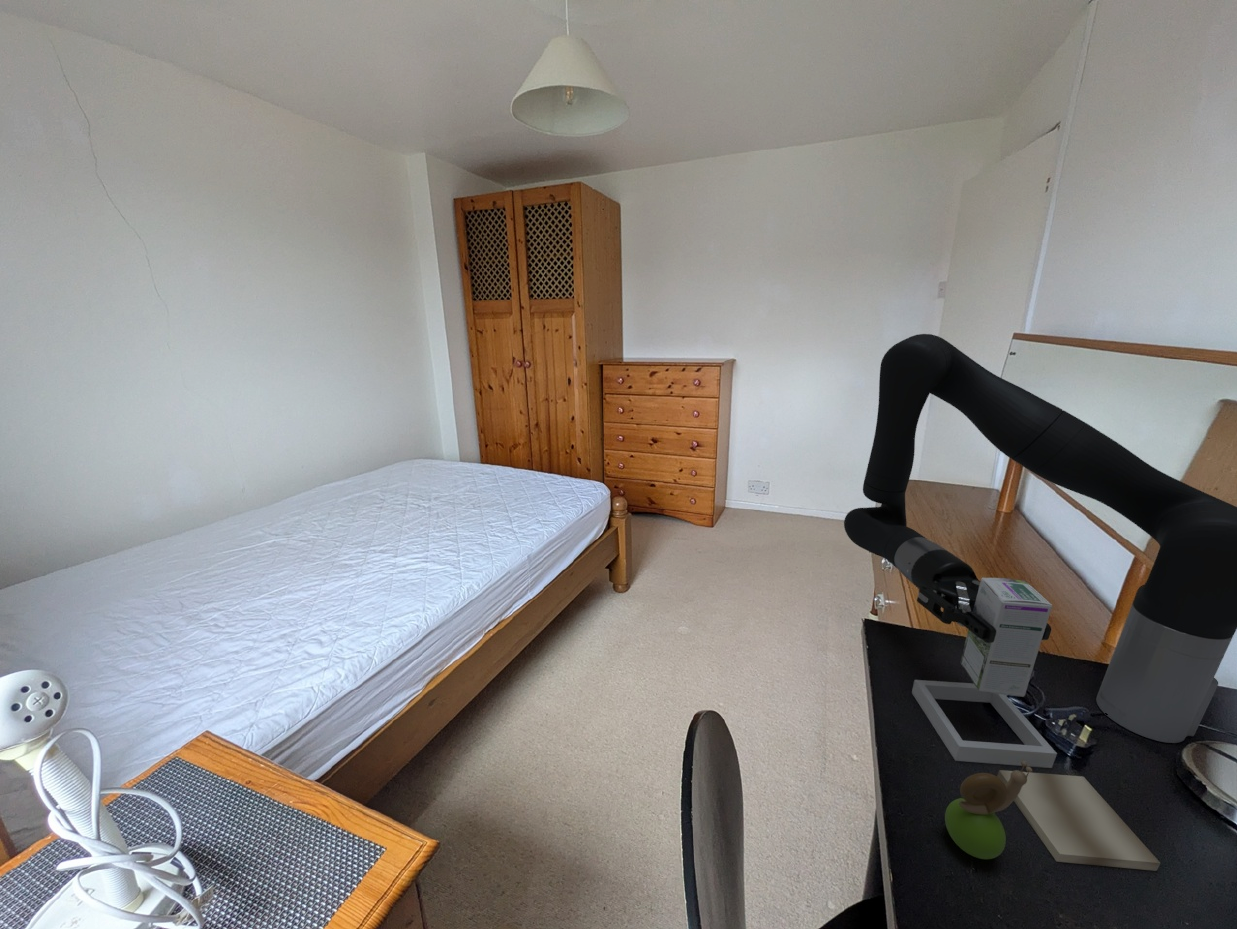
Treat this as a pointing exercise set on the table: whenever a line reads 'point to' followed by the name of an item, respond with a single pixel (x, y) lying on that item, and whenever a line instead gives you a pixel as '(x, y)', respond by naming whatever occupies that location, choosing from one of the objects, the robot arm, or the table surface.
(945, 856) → the table surface
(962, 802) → the snail figurine
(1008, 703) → the grey square frame
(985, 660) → the syrup box
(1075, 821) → the birch pad
